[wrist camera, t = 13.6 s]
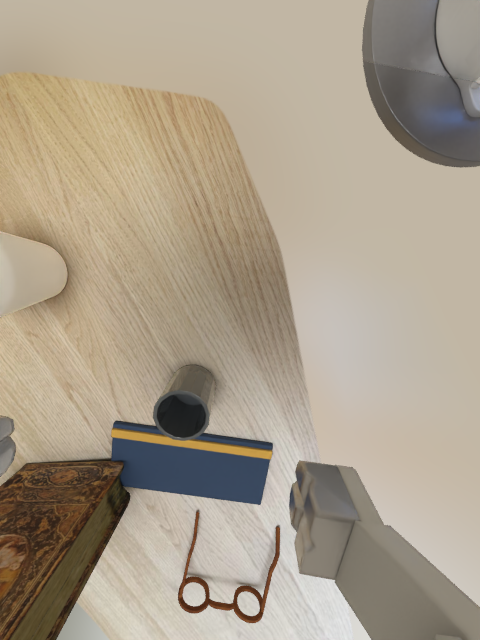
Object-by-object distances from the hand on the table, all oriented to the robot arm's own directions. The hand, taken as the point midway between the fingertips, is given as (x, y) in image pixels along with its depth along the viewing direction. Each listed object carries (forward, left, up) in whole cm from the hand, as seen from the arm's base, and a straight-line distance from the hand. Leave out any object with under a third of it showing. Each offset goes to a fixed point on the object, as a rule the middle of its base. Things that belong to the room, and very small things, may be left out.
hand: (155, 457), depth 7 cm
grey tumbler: (+2, +11, -25) cm, 28 cm away
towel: (+1, +23, -25) cm, 34 cm away
